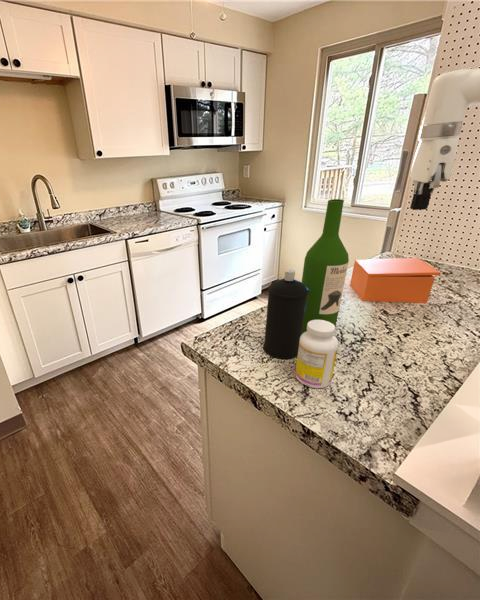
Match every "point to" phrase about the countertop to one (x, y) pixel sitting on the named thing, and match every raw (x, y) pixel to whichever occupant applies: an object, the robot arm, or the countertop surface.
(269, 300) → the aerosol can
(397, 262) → the orange box lid
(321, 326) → the supplement bottle
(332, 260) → the wine bottle
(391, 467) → the countertop surface
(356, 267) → the orange hinged box
